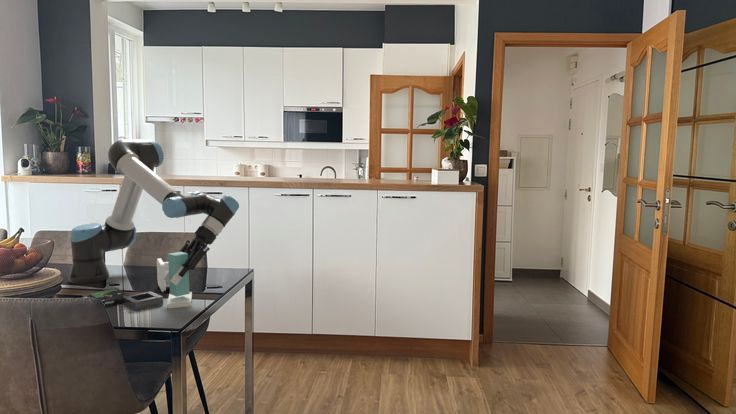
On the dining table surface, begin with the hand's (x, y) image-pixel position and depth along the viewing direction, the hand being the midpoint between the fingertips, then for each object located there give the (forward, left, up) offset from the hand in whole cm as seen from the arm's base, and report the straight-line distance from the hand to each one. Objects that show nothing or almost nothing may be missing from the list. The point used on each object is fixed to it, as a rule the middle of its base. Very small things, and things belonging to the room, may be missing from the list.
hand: (169, 281), depth 187 cm
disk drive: (-12, -22, -9) cm, 26 cm away
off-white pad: (-2, +3, -8) cm, 9 cm away
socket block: (-2, -9, -8) cm, 13 cm away
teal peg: (-2, +3, -5) cm, 7 cm away
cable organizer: (-23, 0, -9) cm, 24 cm away
